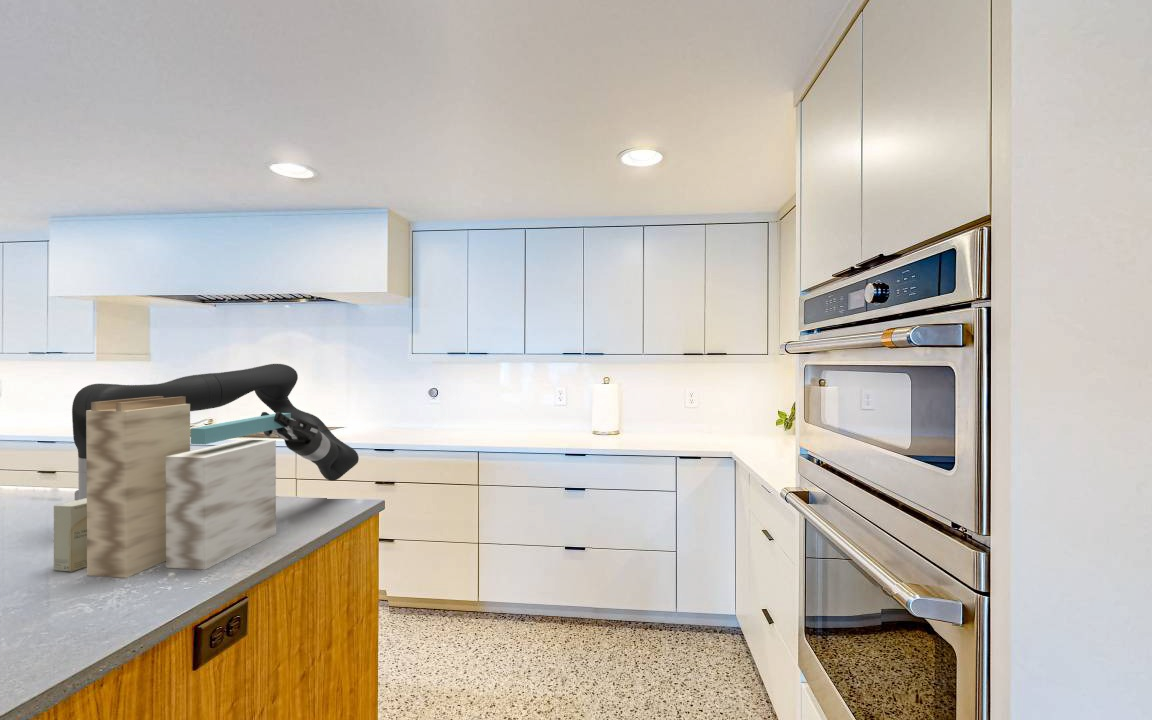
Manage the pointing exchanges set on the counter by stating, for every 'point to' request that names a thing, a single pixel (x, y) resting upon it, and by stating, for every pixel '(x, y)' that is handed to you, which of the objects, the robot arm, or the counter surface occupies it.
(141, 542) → the stepped wooden blocks
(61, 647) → the counter surface
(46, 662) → the counter surface
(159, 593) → the counter surface
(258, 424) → the rod
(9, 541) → the counter surface
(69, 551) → the skincare box
